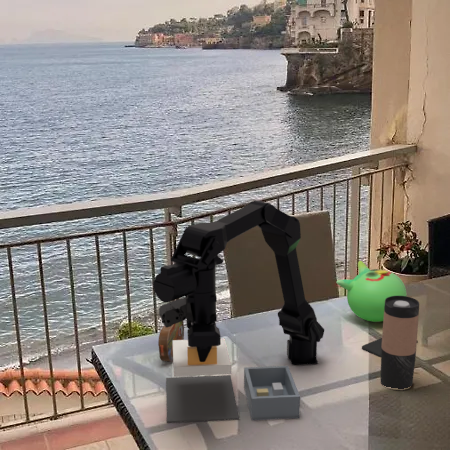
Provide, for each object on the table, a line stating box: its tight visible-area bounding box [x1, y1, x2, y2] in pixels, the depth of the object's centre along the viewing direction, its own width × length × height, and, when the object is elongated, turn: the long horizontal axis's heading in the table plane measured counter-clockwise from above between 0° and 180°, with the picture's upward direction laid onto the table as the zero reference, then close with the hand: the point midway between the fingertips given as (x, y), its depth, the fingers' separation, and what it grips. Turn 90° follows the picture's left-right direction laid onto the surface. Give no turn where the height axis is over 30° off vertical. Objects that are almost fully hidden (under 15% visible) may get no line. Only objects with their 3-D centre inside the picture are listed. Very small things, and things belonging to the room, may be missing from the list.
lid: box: [172, 337, 233, 377], centre depth 150 cm, size 12×16×6 cm
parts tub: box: [243, 365, 301, 421], centre depth 151 cm, size 10×14×5 cm
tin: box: [157, 321, 185, 363], centre depth 174 cm, size 15×3×8 cm, turn 168°
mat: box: [165, 374, 240, 424], centre depth 153 cm, size 15×19×1 cm
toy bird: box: [336, 260, 408, 323], centre depth 195 cm, size 18×17×15 cm
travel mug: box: [380, 296, 420, 389], centre depth 157 cm, size 8×8×20 cm
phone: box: [361, 337, 418, 358], centre depth 180 cm, size 7×1×15 cm
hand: (202, 359), depth 144 cm, fingers closed on lid
